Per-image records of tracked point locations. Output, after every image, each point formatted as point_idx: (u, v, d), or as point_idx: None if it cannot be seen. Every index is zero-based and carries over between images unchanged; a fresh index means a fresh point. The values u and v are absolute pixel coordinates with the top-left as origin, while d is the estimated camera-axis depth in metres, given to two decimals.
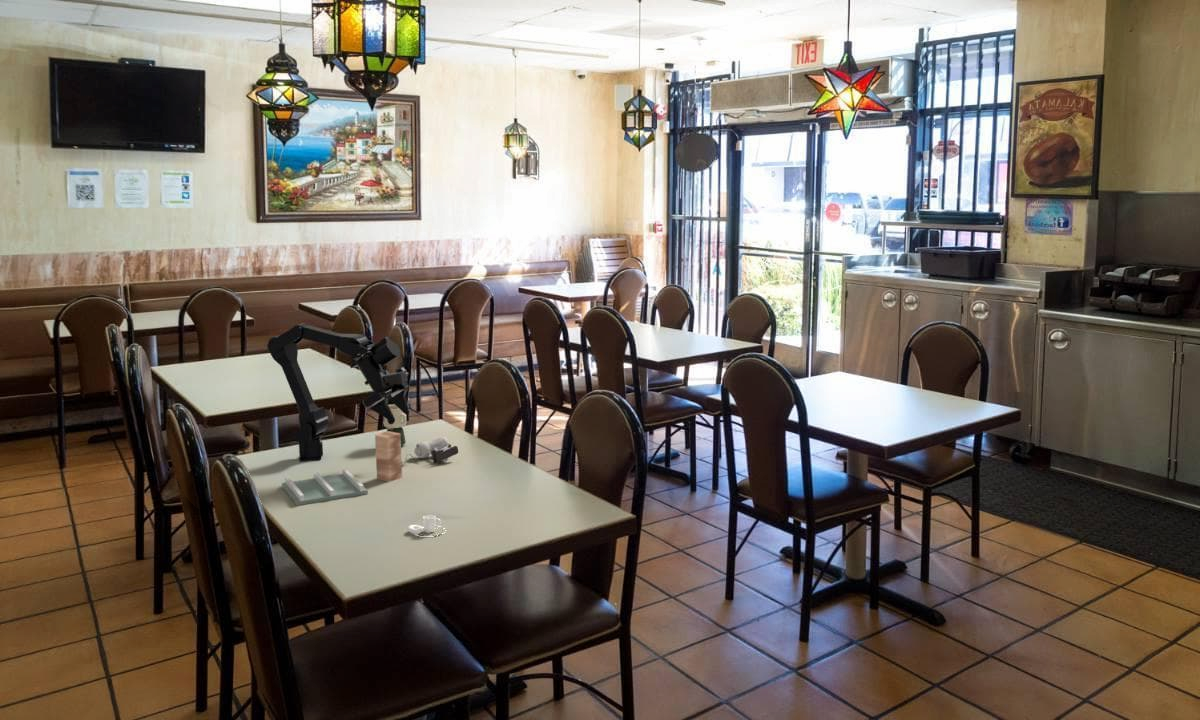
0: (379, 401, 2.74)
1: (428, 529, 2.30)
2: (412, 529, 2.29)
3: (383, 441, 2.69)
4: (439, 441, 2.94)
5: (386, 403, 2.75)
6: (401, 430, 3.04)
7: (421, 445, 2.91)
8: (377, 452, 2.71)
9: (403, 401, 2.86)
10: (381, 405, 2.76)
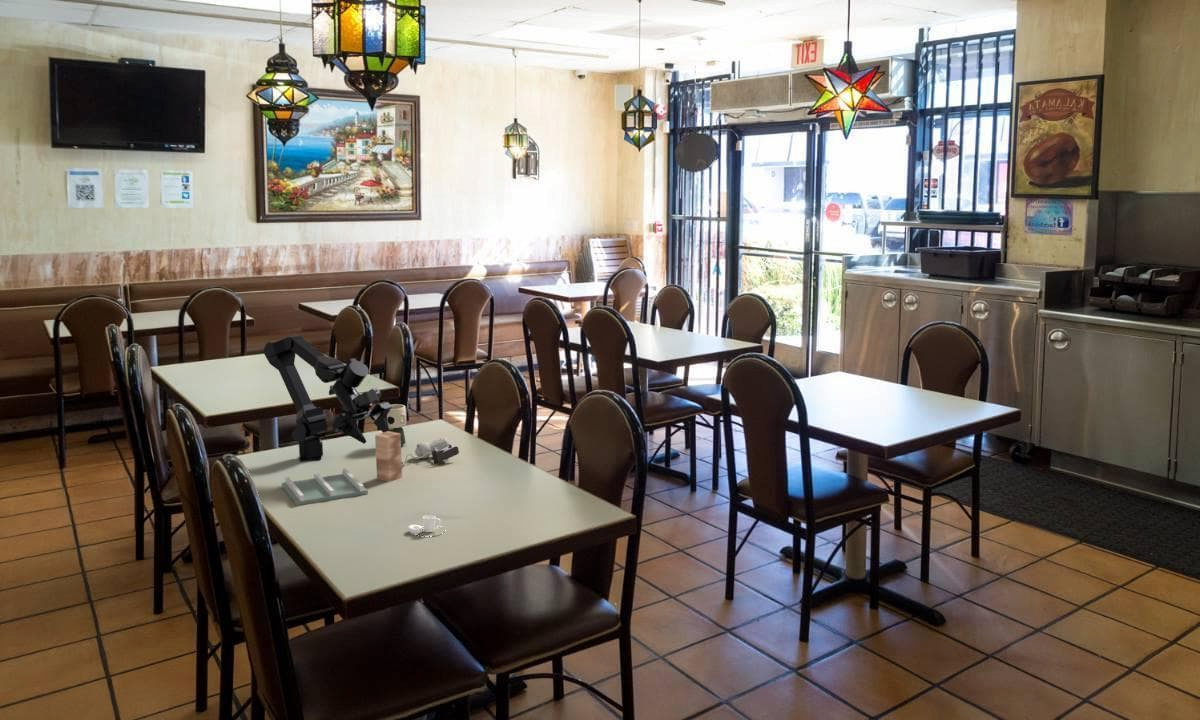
0: (345, 422, 2.68)
1: (428, 529, 2.30)
2: (412, 529, 2.29)
3: (383, 441, 2.69)
4: (440, 441, 2.93)
5: (354, 424, 2.69)
6: (401, 430, 3.04)
7: (422, 445, 2.90)
8: (377, 452, 2.71)
9: (383, 423, 2.78)
10: (351, 427, 2.70)
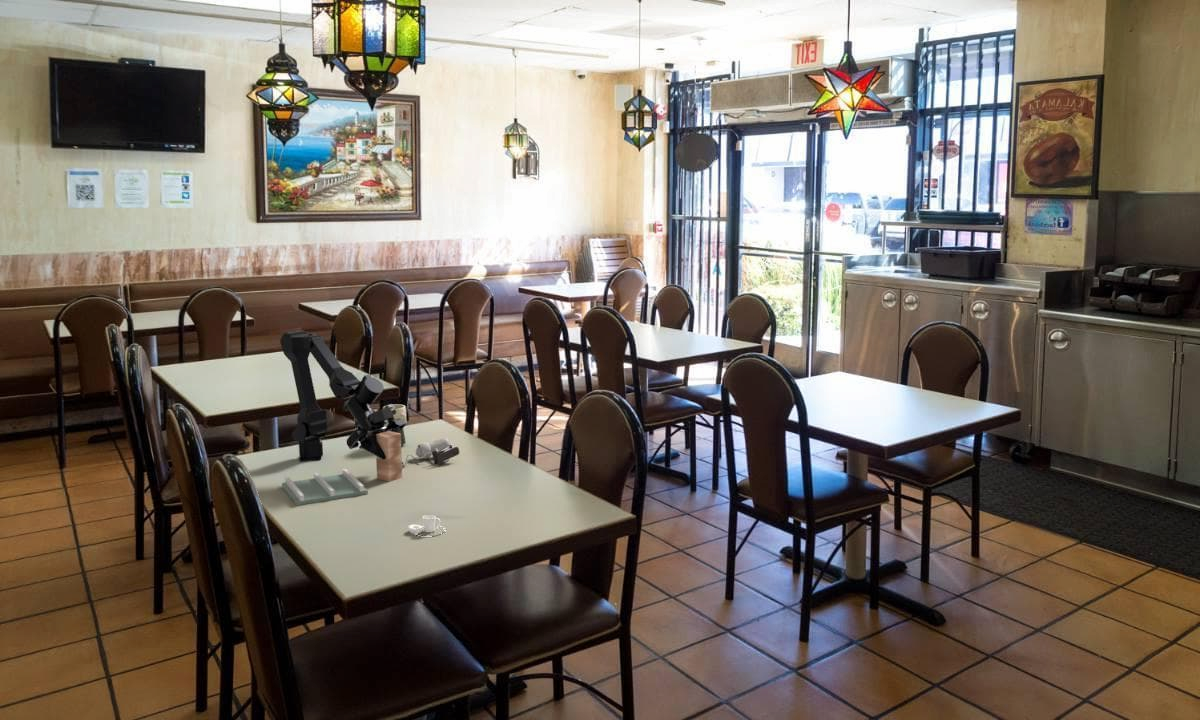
0: (365, 438, 2.67)
1: (428, 529, 2.30)
2: (412, 529, 2.29)
3: (383, 441, 2.69)
4: (440, 442, 2.93)
5: (373, 440, 2.68)
6: (401, 430, 3.04)
7: (422, 446, 2.90)
8: None
9: None
10: (371, 443, 2.69)
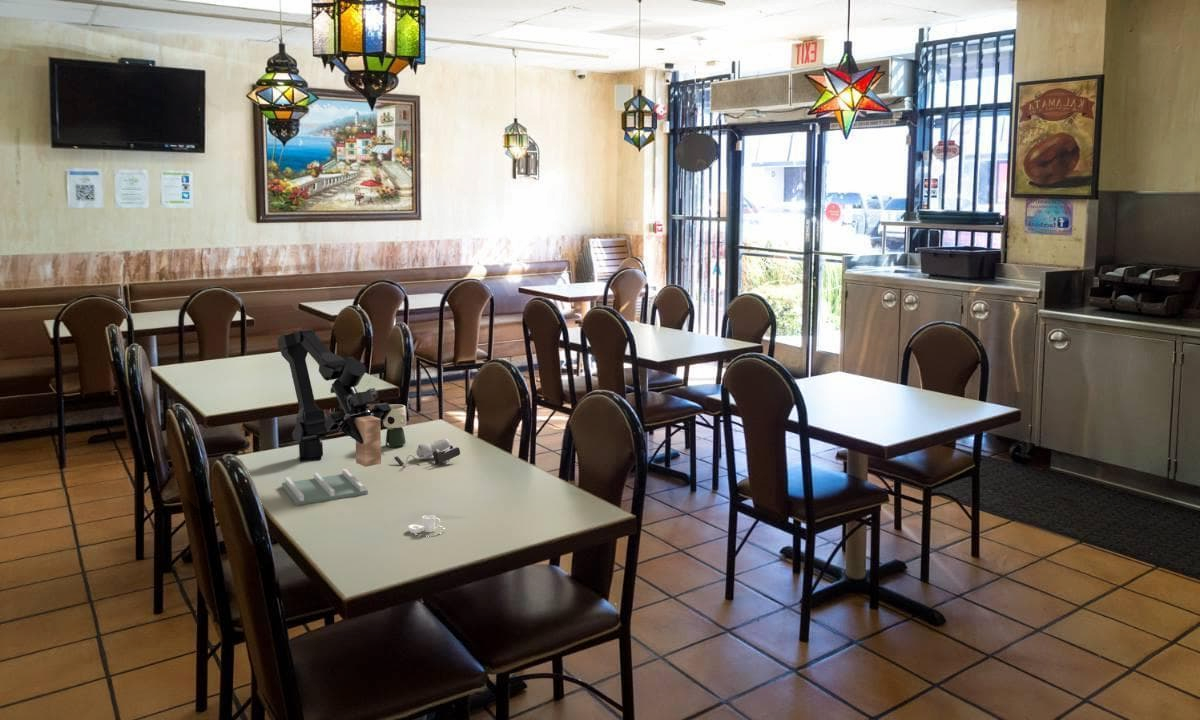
0: (343, 421, 2.63)
1: (428, 529, 2.30)
2: (412, 529, 2.30)
3: (361, 425, 2.63)
4: (441, 442, 2.92)
5: (351, 423, 2.63)
6: (401, 430, 3.04)
7: (423, 446, 2.90)
8: None
9: None
10: (350, 426, 2.65)
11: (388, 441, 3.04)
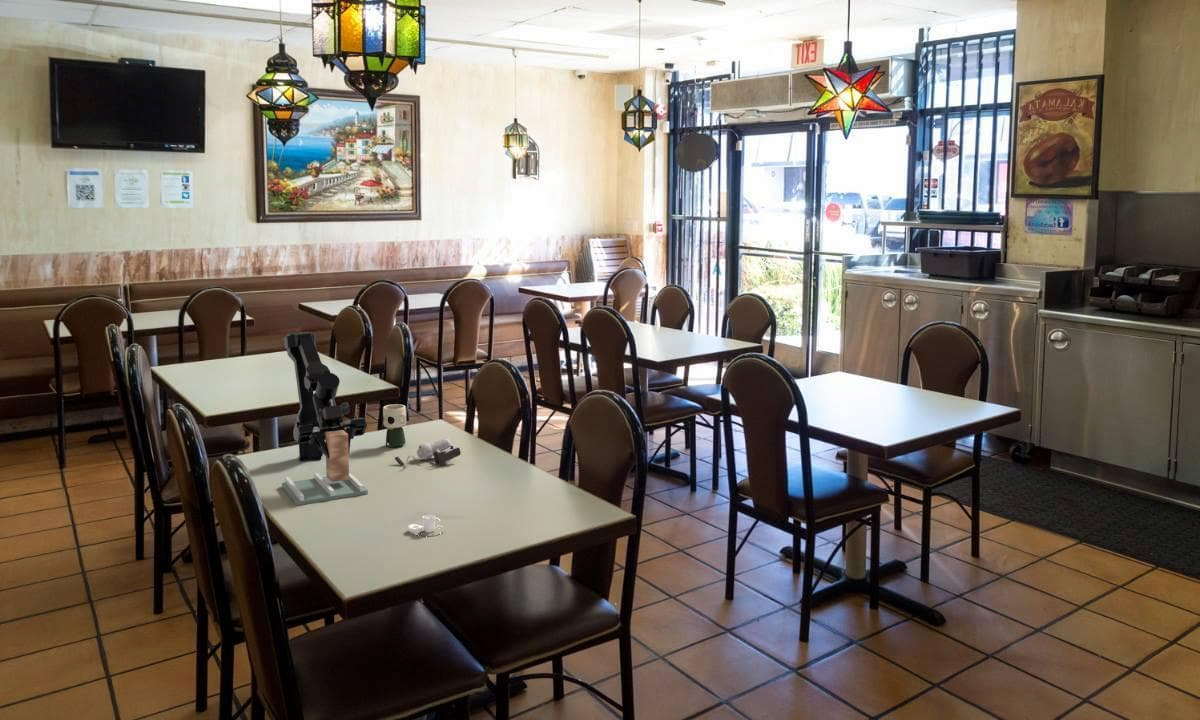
0: (311, 435, 2.60)
1: (427, 528, 2.30)
2: (411, 528, 2.30)
3: (328, 440, 2.60)
4: (442, 443, 2.92)
5: (319, 437, 2.60)
6: (401, 430, 3.04)
7: (423, 446, 2.89)
8: None
9: None
10: None
11: (388, 441, 3.04)
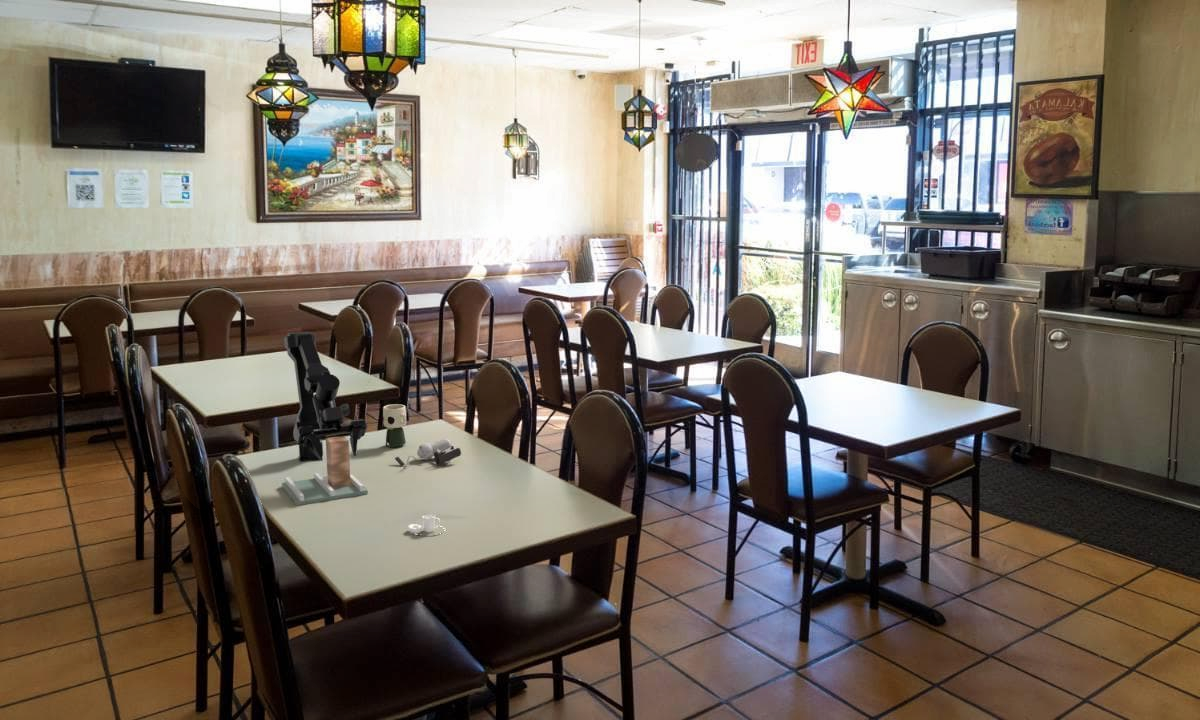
0: (304, 437, 2.60)
1: (427, 528, 2.30)
2: (411, 528, 2.30)
3: (329, 446, 2.60)
4: (442, 443, 2.92)
5: (313, 439, 2.60)
6: (401, 430, 3.04)
7: (424, 447, 2.89)
8: (327, 456, 2.63)
9: (352, 441, 2.65)
10: None
11: (388, 441, 3.04)
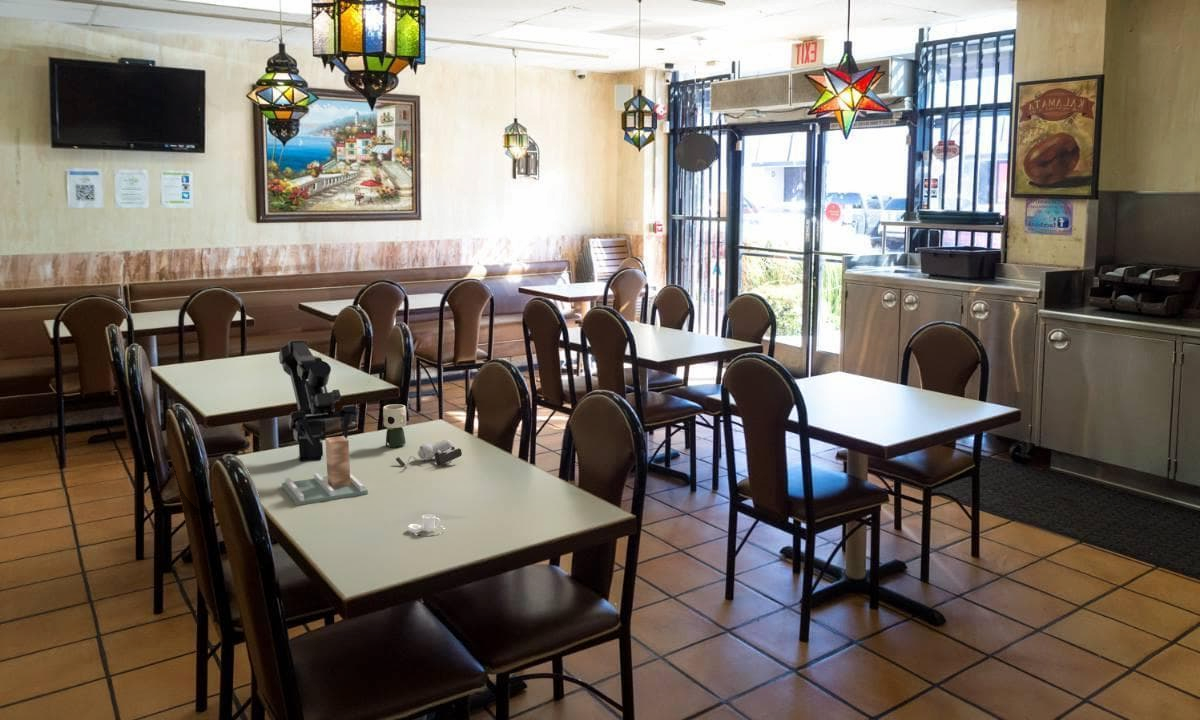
0: (296, 422, 2.66)
1: (427, 528, 2.31)
2: (411, 528, 2.30)
3: (328, 446, 2.60)
4: (443, 443, 2.91)
5: (304, 424, 2.66)
6: (401, 430, 3.04)
7: (424, 447, 2.88)
8: (326, 456, 2.63)
9: (343, 426, 2.72)
10: None
11: (388, 441, 3.04)
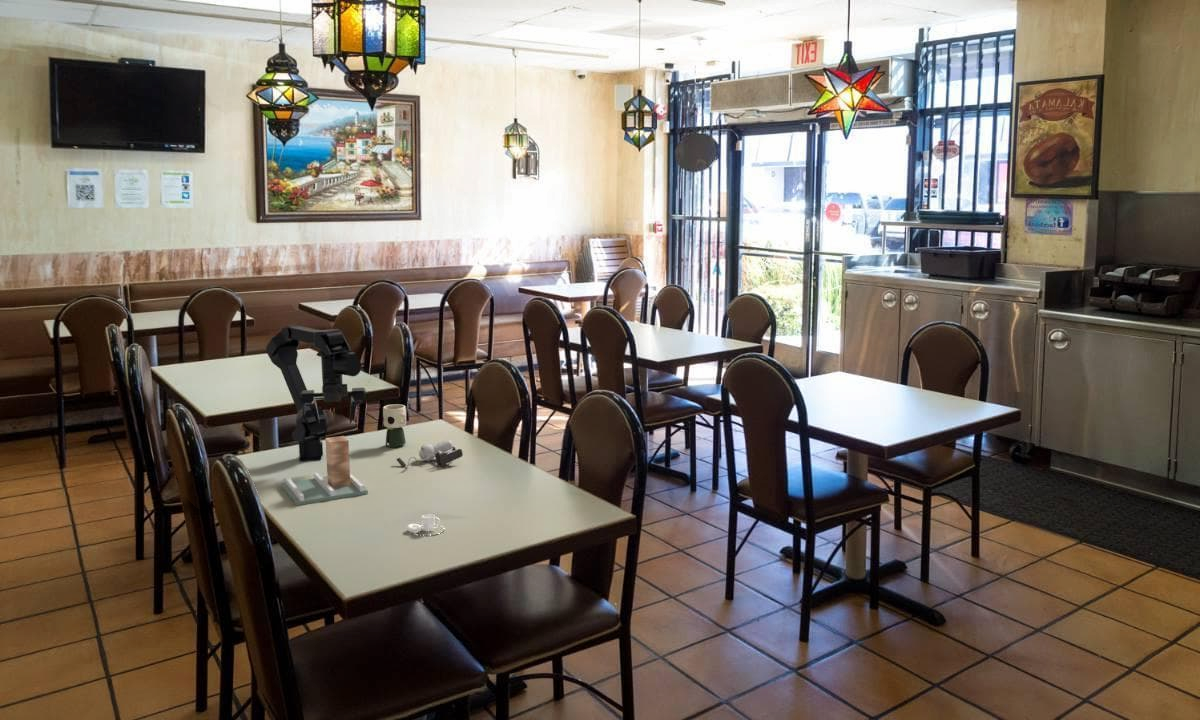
0: (305, 403, 2.78)
1: (427, 528, 2.31)
2: (411, 528, 2.30)
3: (328, 446, 2.60)
4: (444, 444, 2.91)
5: (312, 407, 2.78)
6: (401, 430, 3.04)
7: (425, 448, 2.88)
8: (326, 456, 2.63)
9: (350, 410, 2.82)
10: None
11: (388, 441, 3.04)
